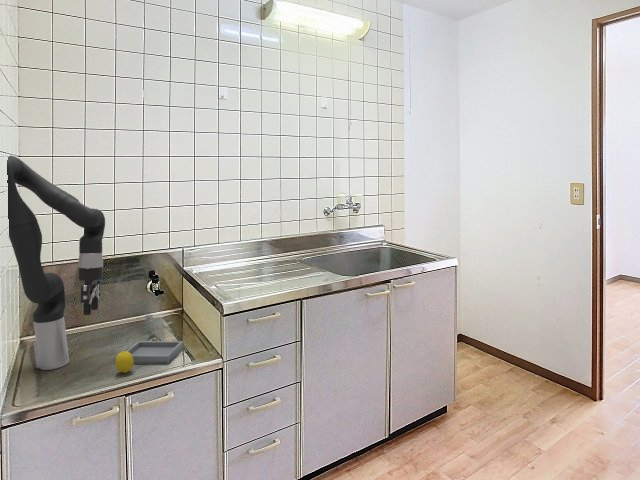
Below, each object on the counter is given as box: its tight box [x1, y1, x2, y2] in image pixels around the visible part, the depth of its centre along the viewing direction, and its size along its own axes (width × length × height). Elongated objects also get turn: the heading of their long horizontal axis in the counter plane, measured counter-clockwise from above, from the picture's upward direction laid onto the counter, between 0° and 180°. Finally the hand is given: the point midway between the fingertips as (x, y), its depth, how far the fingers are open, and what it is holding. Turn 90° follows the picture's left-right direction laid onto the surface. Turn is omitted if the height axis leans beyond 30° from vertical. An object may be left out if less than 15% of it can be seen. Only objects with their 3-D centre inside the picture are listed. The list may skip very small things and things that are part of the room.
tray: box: [125, 340, 185, 366], centre depth 158 cm, size 18×14×3 cm
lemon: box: [115, 350, 134, 374], centre depth 144 cm, size 6×6×8 cm
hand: (91, 312), depth 147 cm, fingers open, 8 cm apart
